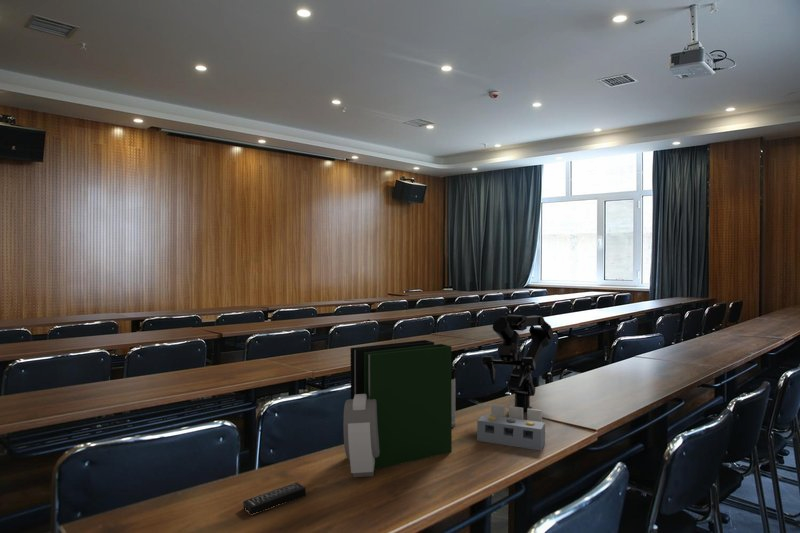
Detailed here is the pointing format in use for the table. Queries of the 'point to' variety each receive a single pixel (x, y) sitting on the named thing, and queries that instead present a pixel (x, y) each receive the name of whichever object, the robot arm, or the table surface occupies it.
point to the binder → (407, 397)
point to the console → (511, 432)
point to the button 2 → (515, 413)
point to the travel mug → (453, 394)
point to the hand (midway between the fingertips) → (505, 385)
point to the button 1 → (497, 411)
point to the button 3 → (534, 416)
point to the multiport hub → (274, 498)
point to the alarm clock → (361, 434)
